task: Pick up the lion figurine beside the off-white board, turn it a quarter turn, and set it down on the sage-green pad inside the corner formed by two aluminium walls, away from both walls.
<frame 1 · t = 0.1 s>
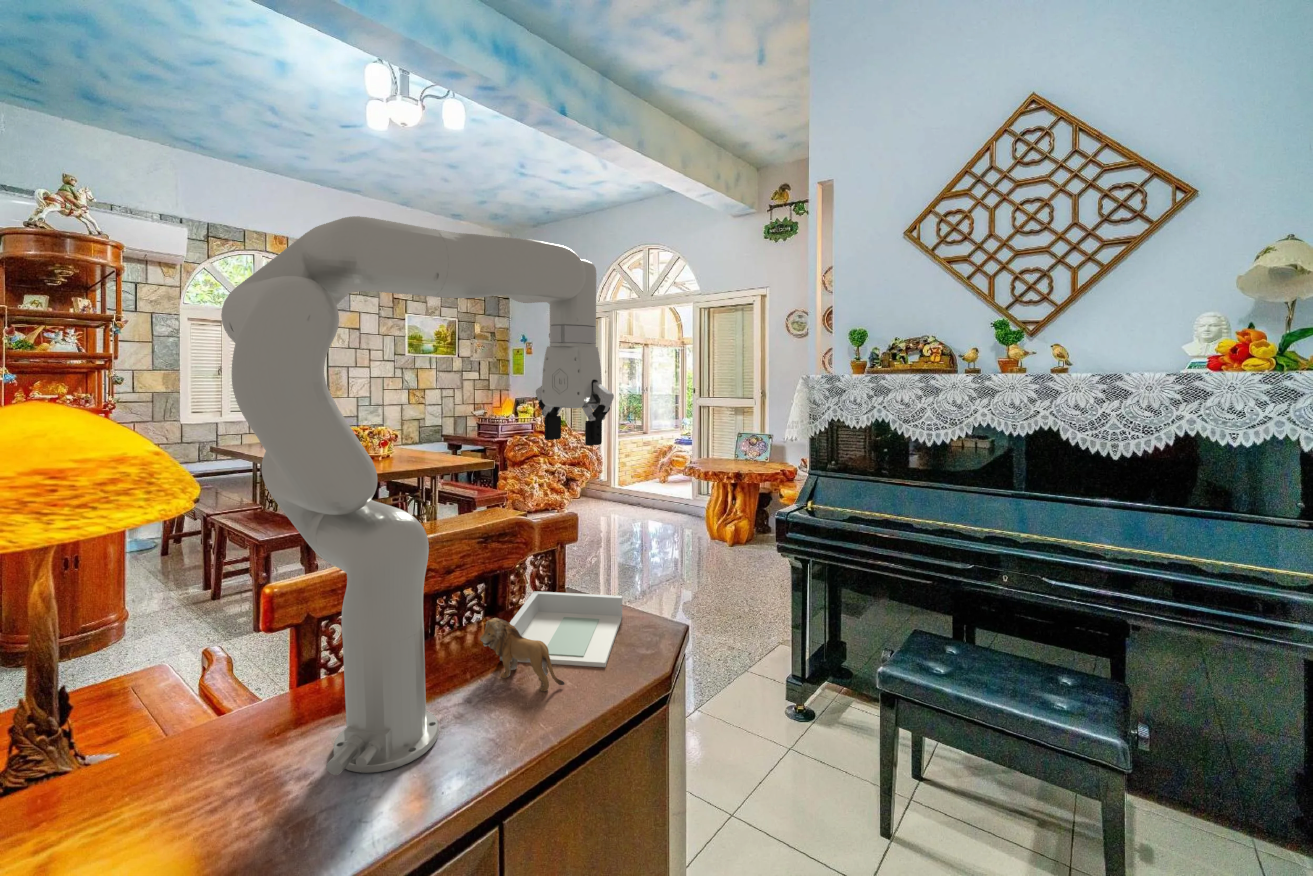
hand: (572, 442, 99), 37 cm above the table, tool pointing down, fingers open, 9 cm apart
lion figurine: (520, 679, 95), on the table
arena: (566, 637, 110), on the table
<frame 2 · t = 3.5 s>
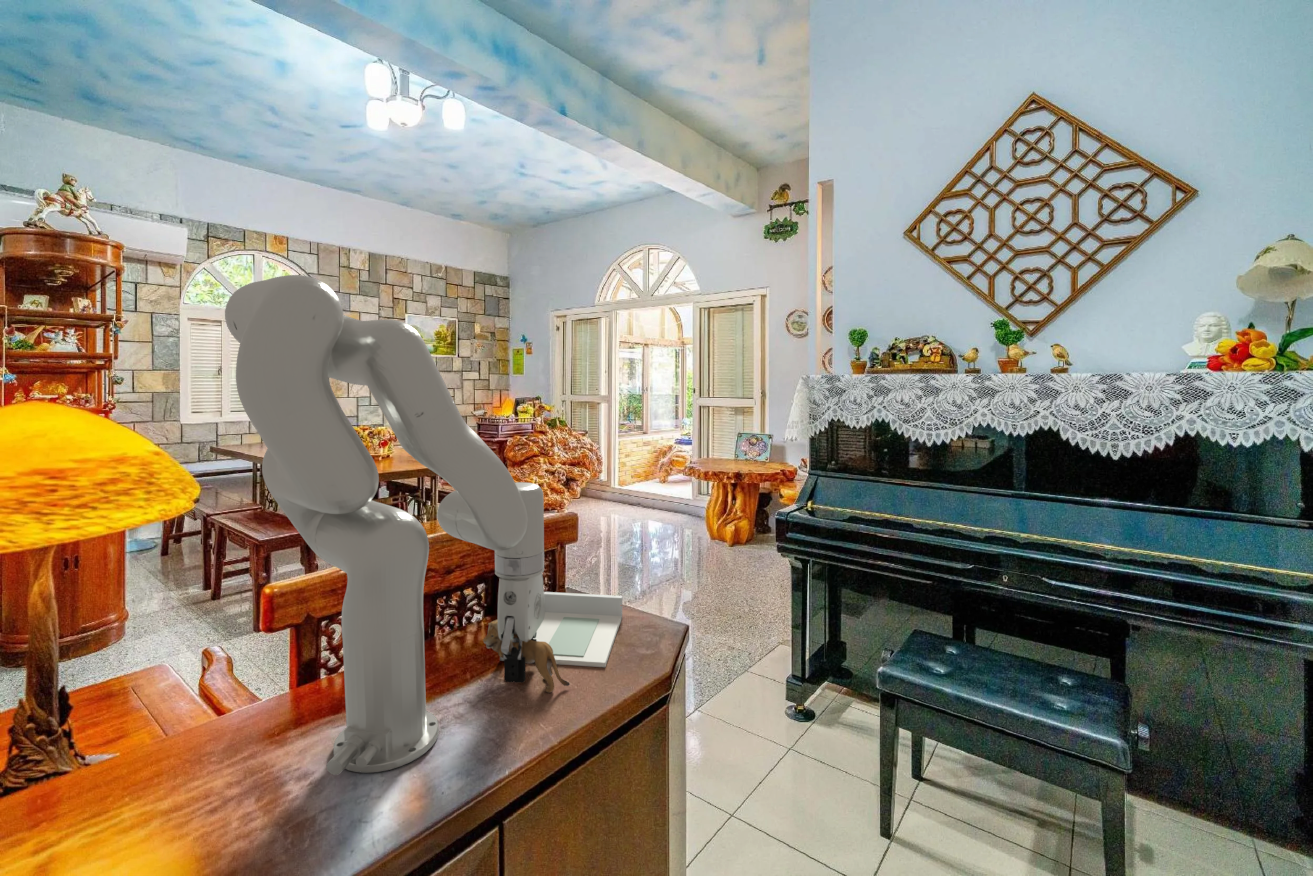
hand: (521, 670, 95), 1 cm above the table, tool pointing down, fingers closed on lion figurine, 5 cm apart
lion figurine: (524, 681, 95), on the table, touching gripper
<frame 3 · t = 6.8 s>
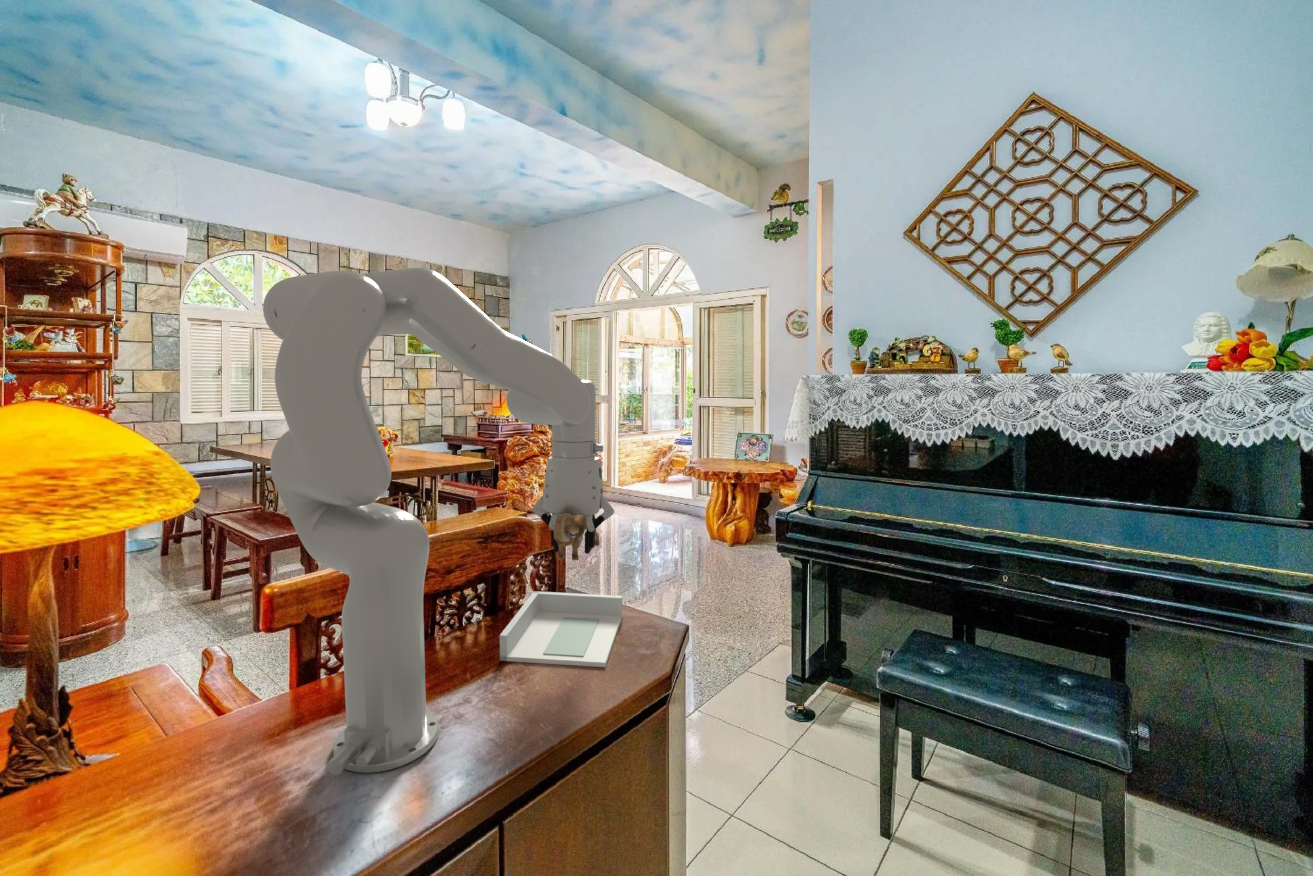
hand: (573, 549, 106), 17 cm above the table, tool pointing down, fingers closed on lion figurine, 4 cm apart
lion figurine: (578, 555, 107), point 16 cm above the table, touching gripper
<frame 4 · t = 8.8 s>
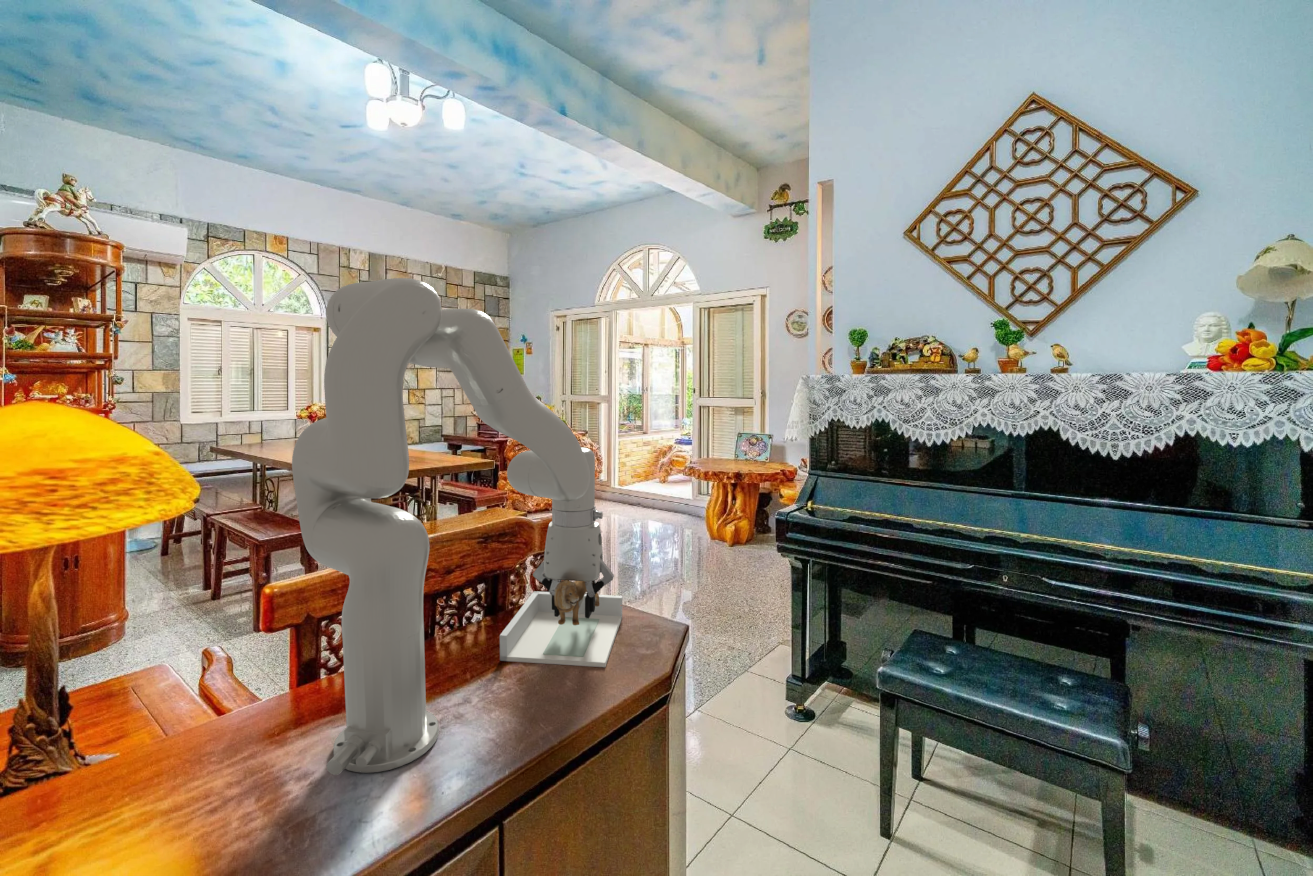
hand: (573, 613, 108), 5 cm above the table, tool pointing down, fingers closed on lion figurine, 4 cm apart
lion figurine: (578, 618, 109), point 4 cm above the table, touching gripper
when the fingers open (3 cm above the table, at t = 10.2 s): lion figurine stays where it is, resting on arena.
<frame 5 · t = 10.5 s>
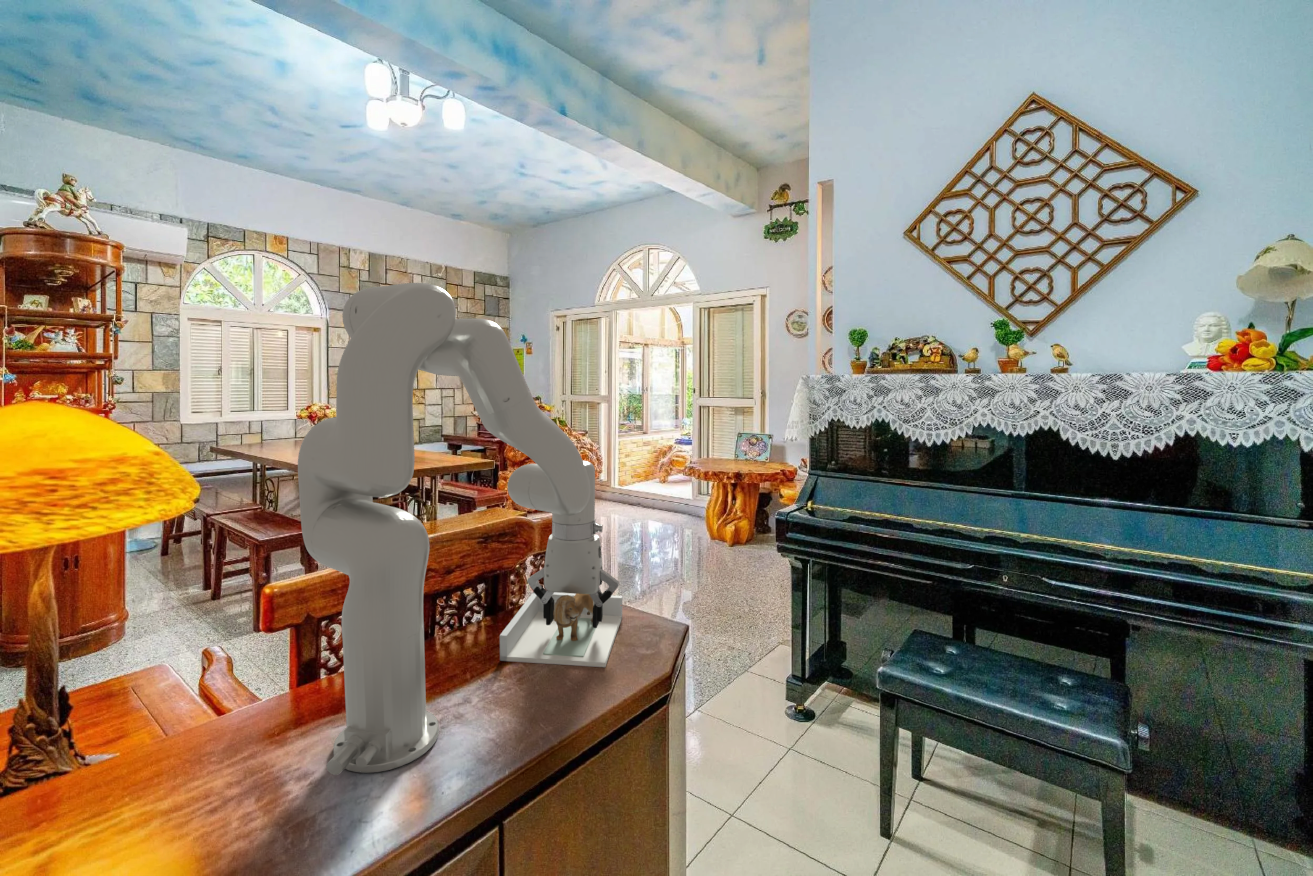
hand: (573, 623, 108), 3 cm above the table, tool pointing down, fingers open, 8 cm apart
lion figurine: (576, 634, 109), point 1 cm above the table, touching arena
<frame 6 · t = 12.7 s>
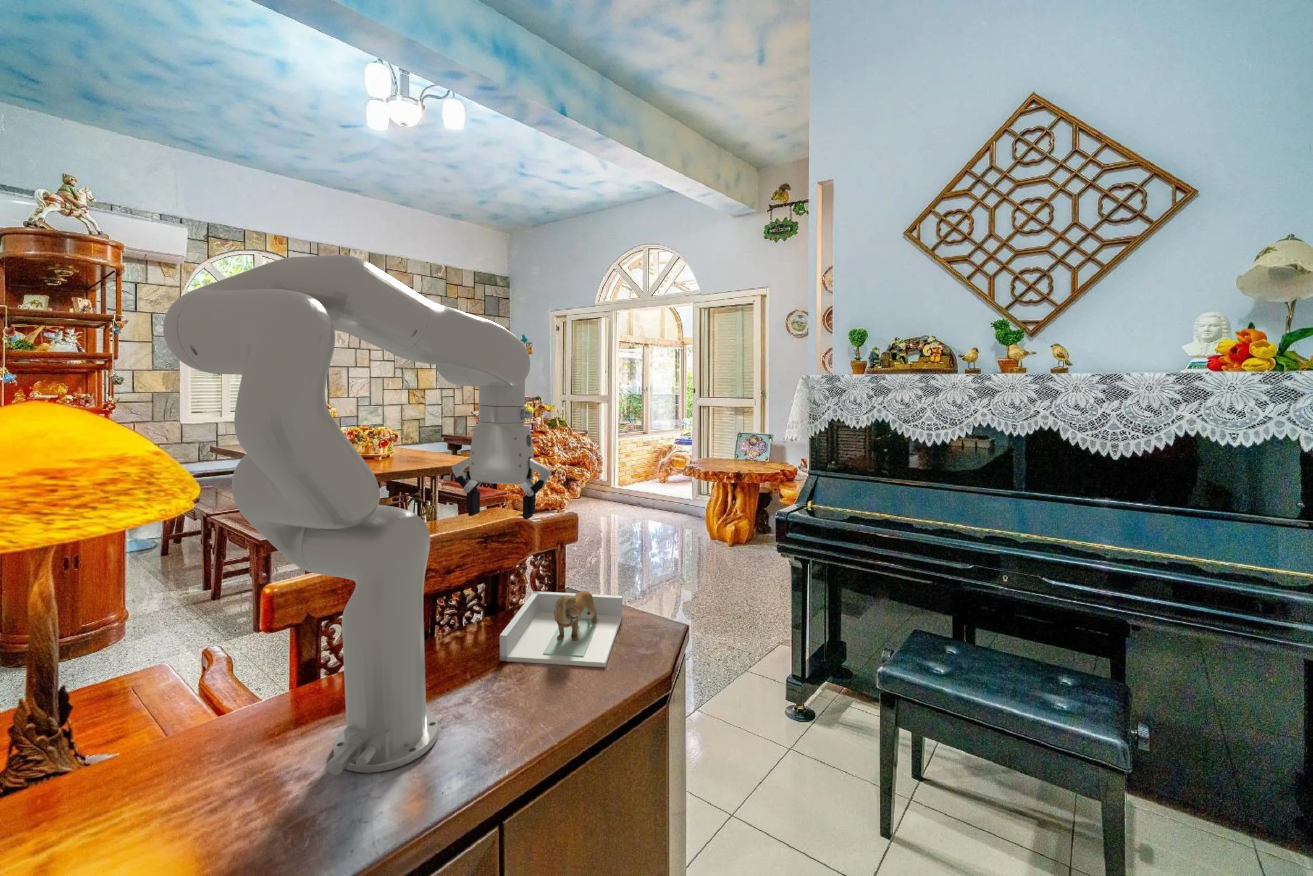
hand: (500, 516, 102), 24 cm above the table, tool pointing down, fingers open, 9 cm apart
nothing on the table moved.
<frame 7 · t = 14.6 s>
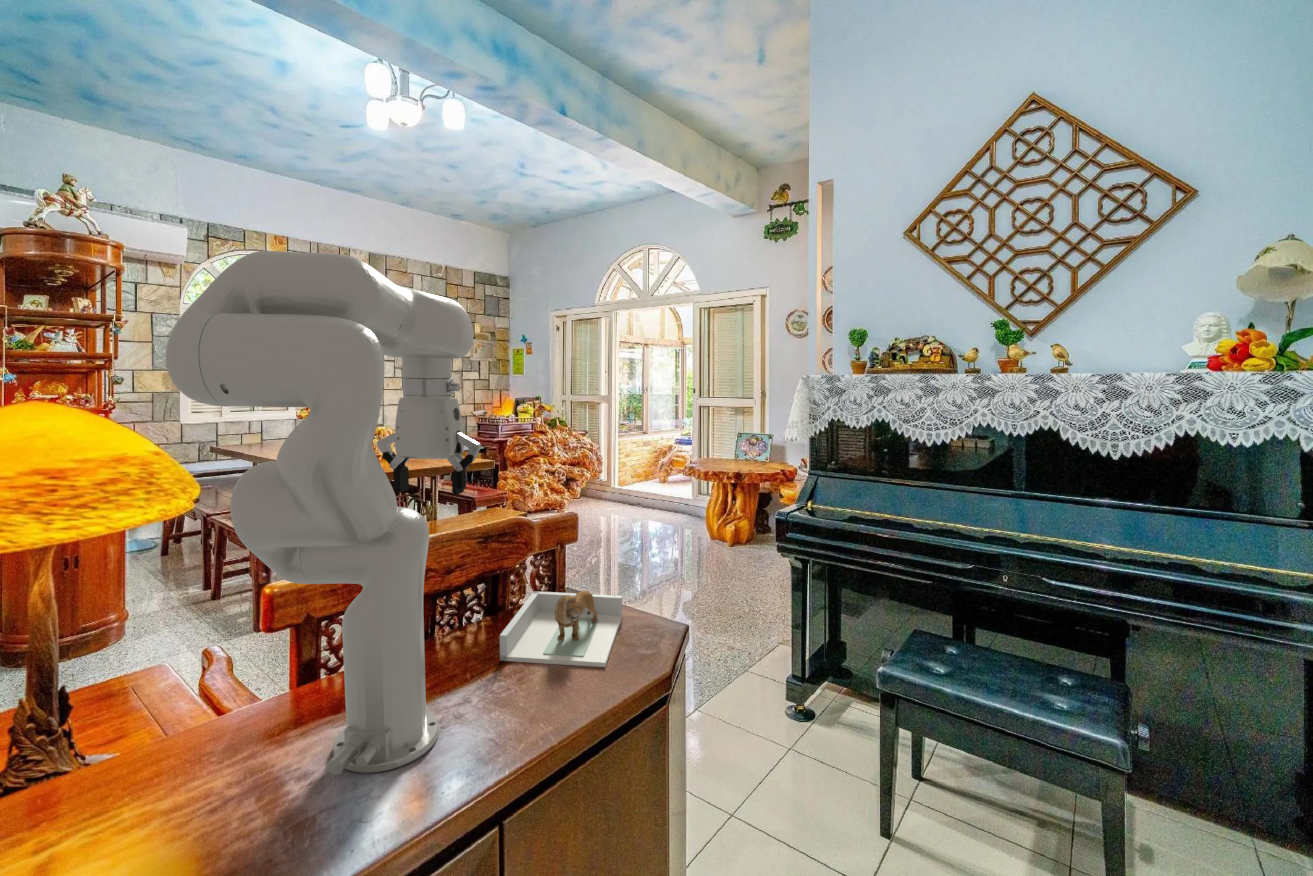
hand: (430, 492, 99), 28 cm above the table, tool pointing down, fingers open, 9 cm apart
nothing on the table moved.
at the end: lion figurine inside the target area (1.0 cm from its centre), point 0.8 cm above the table; lion figurine tilted 0°; the gripper is holding nothing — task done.
